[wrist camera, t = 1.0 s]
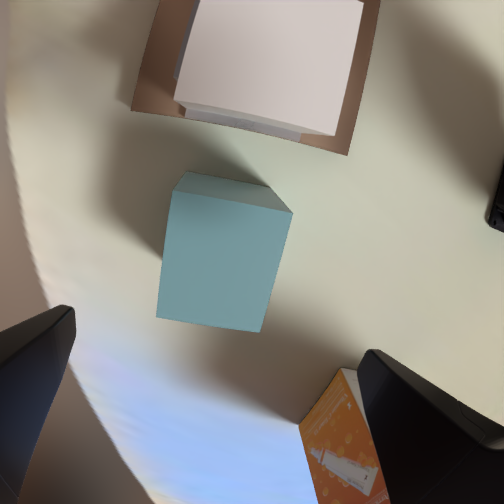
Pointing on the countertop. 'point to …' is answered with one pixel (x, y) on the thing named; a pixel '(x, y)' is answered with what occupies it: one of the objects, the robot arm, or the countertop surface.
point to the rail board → (161, 102)
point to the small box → (342, 446)
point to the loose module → (221, 252)
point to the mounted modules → (269, 60)
